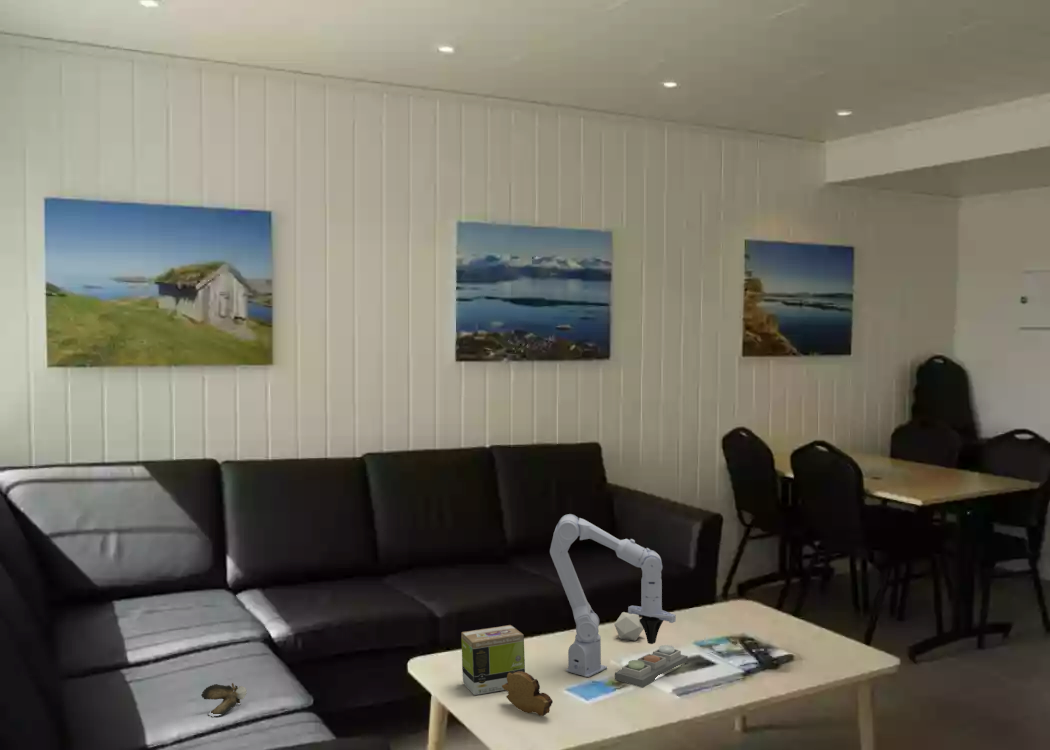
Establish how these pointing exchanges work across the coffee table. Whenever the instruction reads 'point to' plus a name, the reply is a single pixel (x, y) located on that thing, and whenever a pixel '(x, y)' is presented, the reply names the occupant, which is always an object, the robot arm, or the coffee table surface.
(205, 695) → the eagle figurine
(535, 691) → the wooden carving
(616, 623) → the die
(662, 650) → the blue-grey button
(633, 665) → the sage button
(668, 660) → the button panel
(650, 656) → the terracotta button
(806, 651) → the coffee table surface
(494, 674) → the tea box
